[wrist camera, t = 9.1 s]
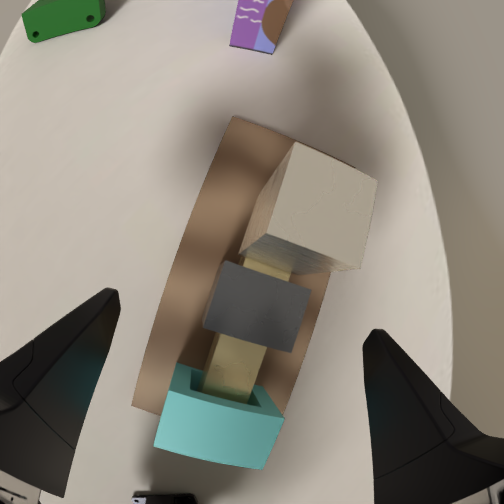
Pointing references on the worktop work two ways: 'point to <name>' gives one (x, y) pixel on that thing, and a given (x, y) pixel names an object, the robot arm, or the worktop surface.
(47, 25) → the clamp
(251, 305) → the sleeve
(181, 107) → the worktop surface
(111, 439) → the worktop surface
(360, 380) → the worktop surface
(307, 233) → the white-capped post
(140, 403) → the base board
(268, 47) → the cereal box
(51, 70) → the worktop surface
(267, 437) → the socket block
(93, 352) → the robot arm
